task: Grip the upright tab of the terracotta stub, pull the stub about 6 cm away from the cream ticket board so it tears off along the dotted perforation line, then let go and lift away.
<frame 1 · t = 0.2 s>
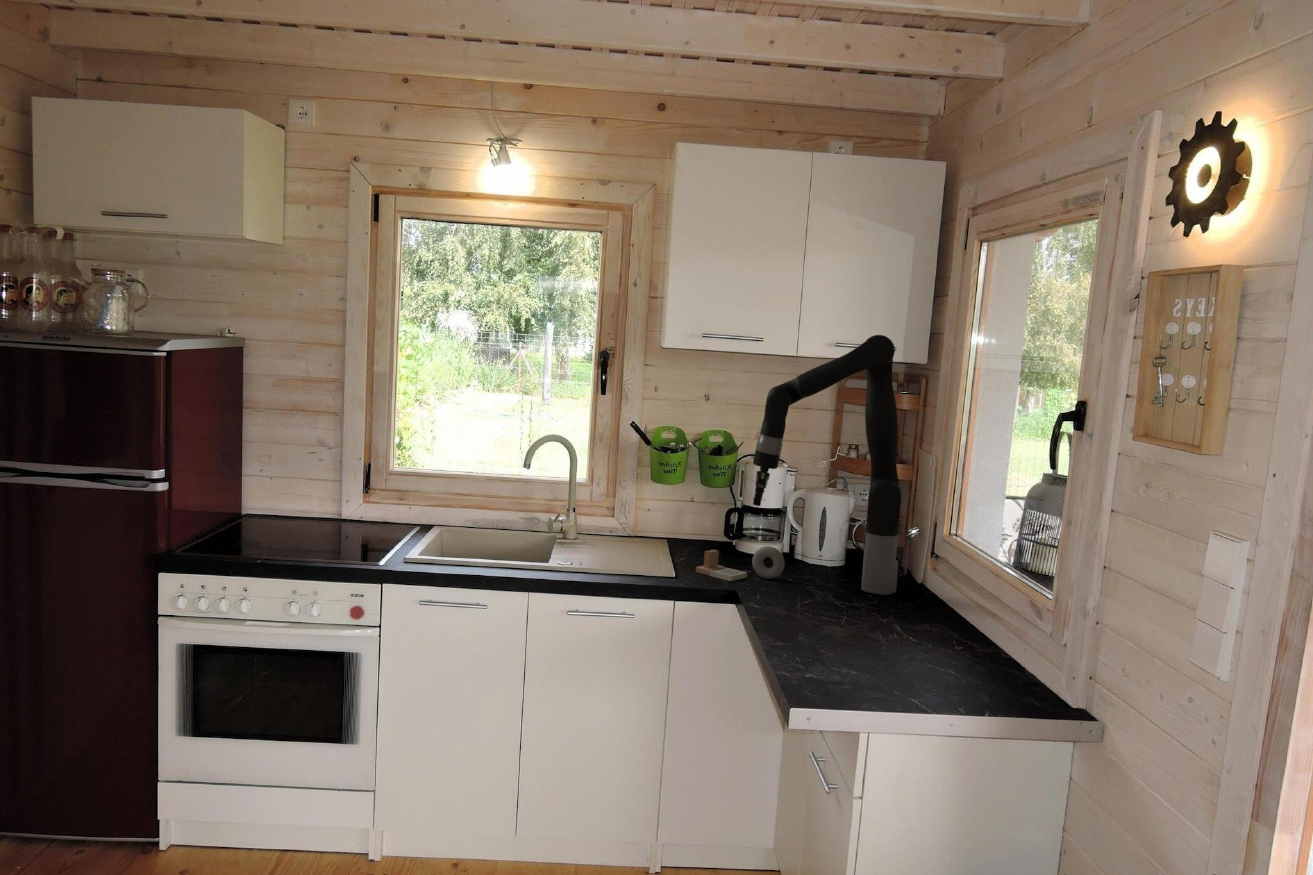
hand: (756, 503, 280), 23 cm above the worktop, tool pointing down, fingers open, 8 cm apart
donut: (767, 579, 281), on the worktop
ticket: (728, 576, 280), on the worktop
stub: (711, 561, 285), point 3 cm above the worktop, slide at 0.0 cm
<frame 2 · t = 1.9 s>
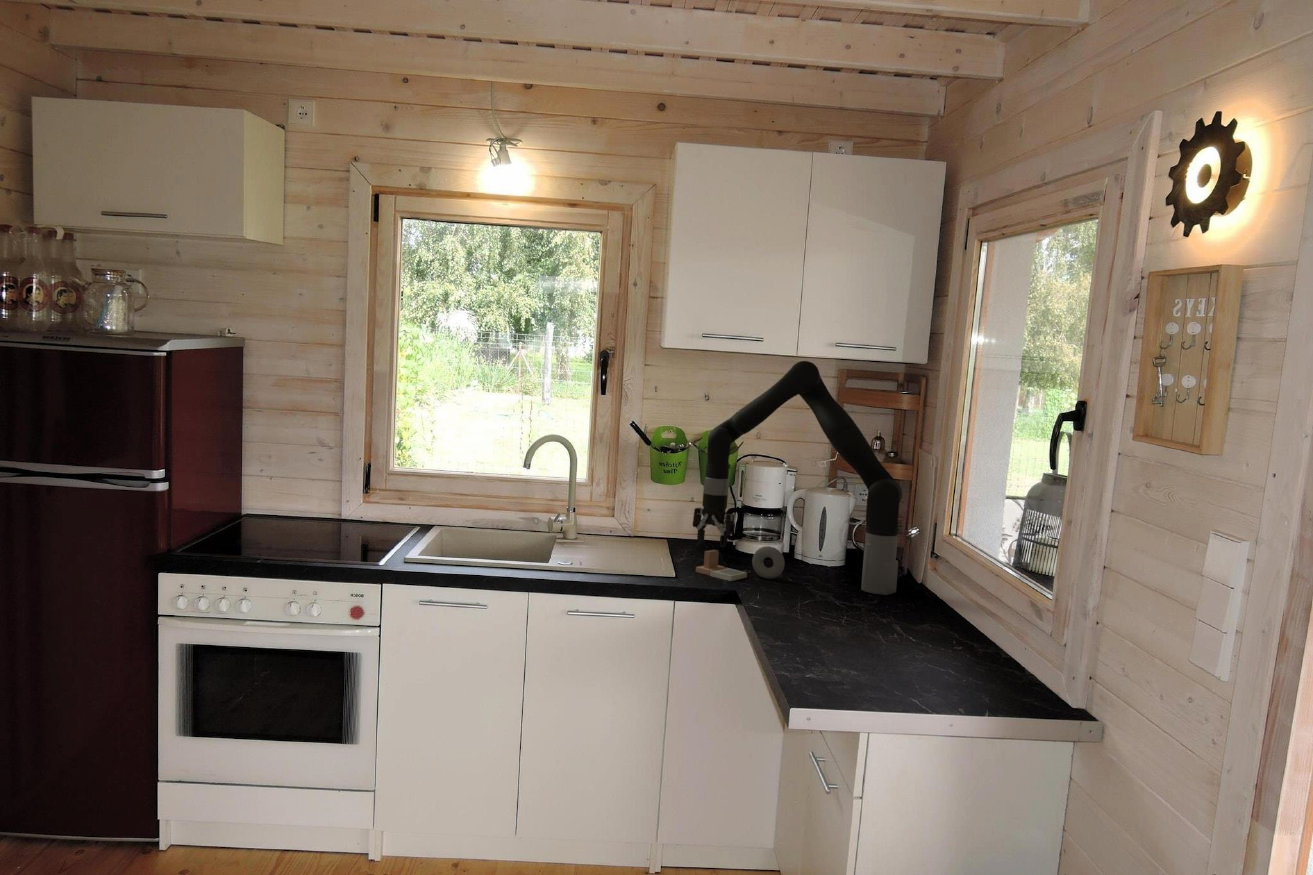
hand: (711, 544, 284), 9 cm above the worktop, tool pointing down, fingers open, 8 cm apart
nothing on the worktop moved.
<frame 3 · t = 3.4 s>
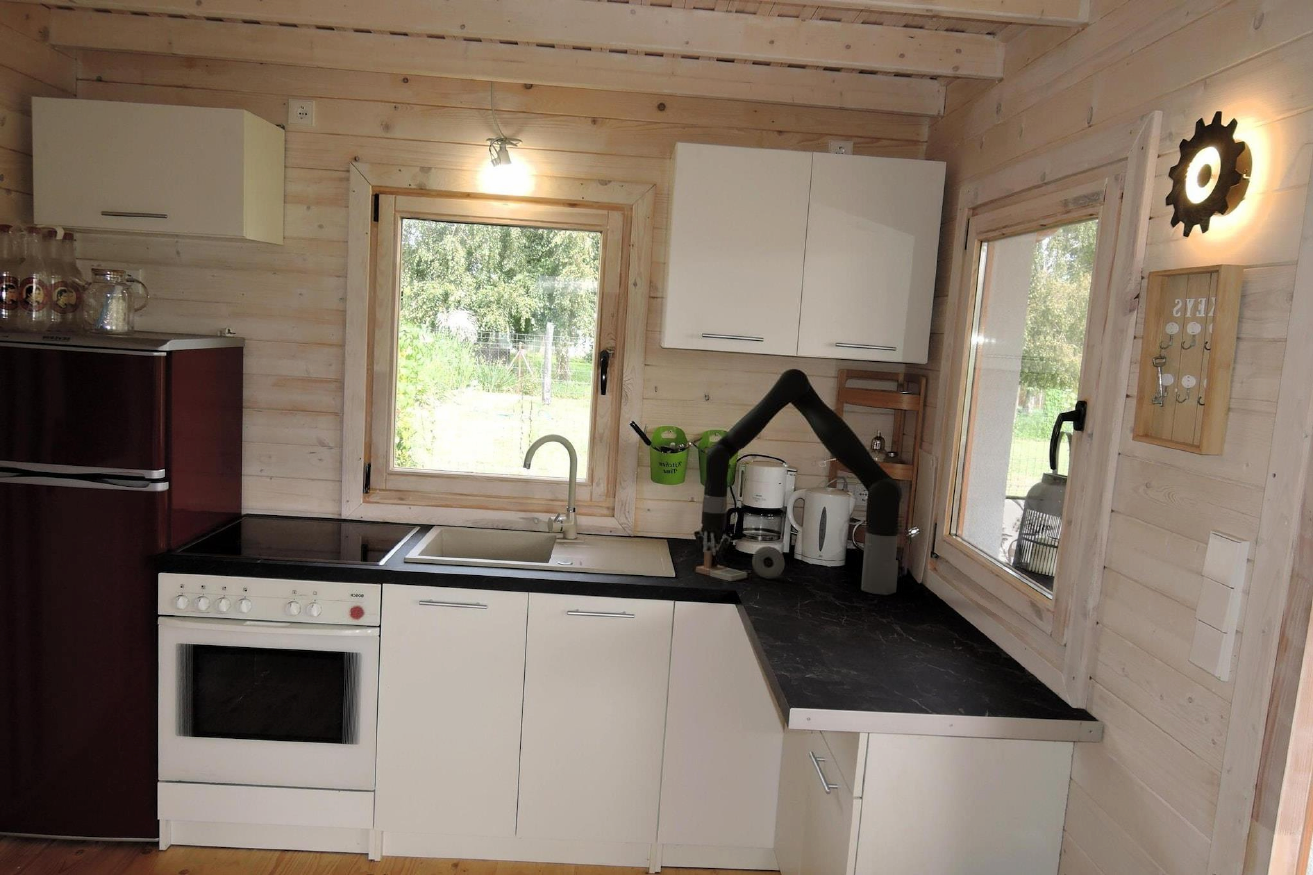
hand: (710, 565, 285), 2 cm above the worktop, tool pointing down, fingers closed, pressing on stub
stub: (711, 561, 285), point 3 cm above the worktop, slide at 0.0 cm, touching gripper
everything else where it was.
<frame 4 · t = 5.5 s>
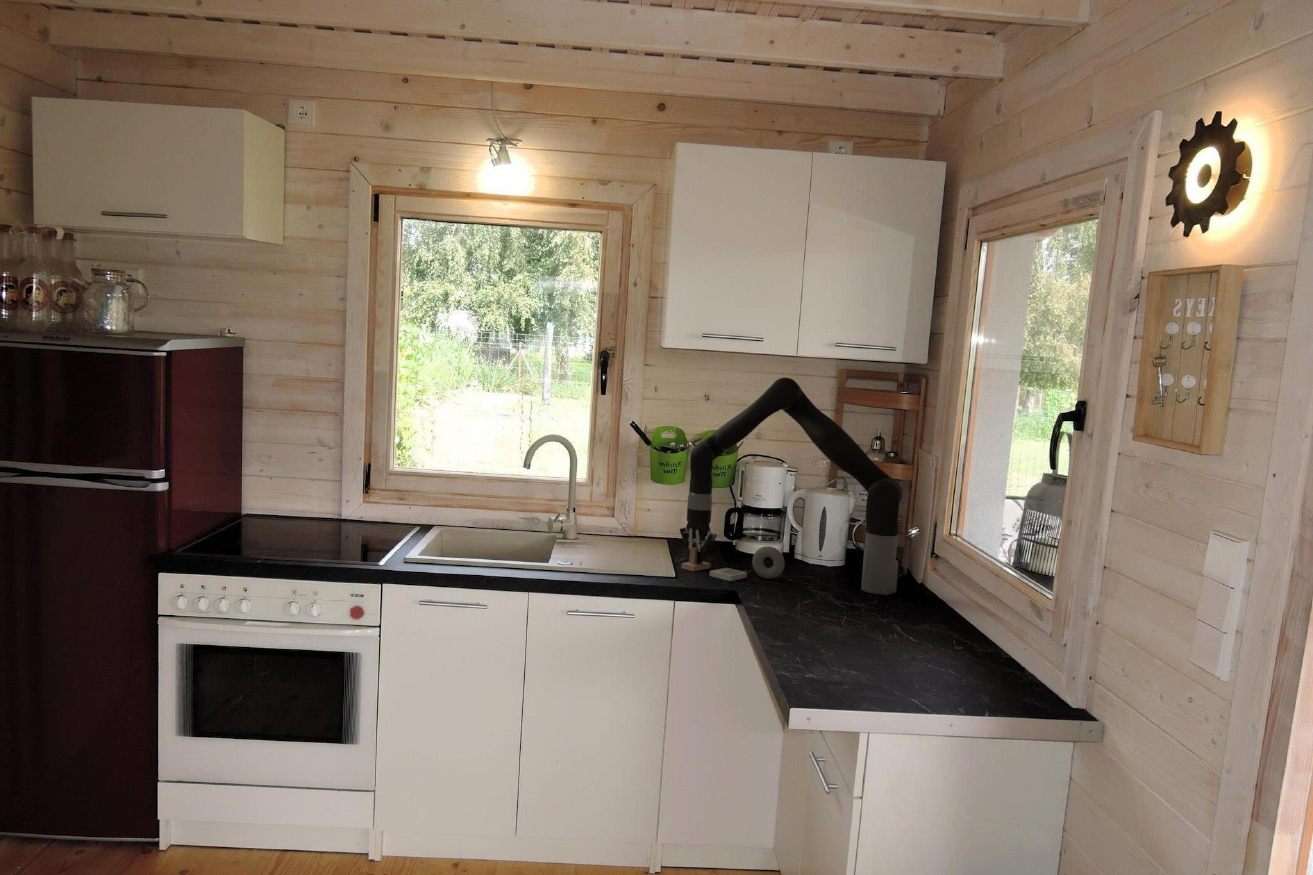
hand: (696, 561, 289), 2 cm above the worktop, tool pointing down, fingers closed on stub, 2 cm apart
stub: (696, 557, 289), point 3 cm above the worktop, slide at 5.8 cm, touching gripper
everything else where it was.
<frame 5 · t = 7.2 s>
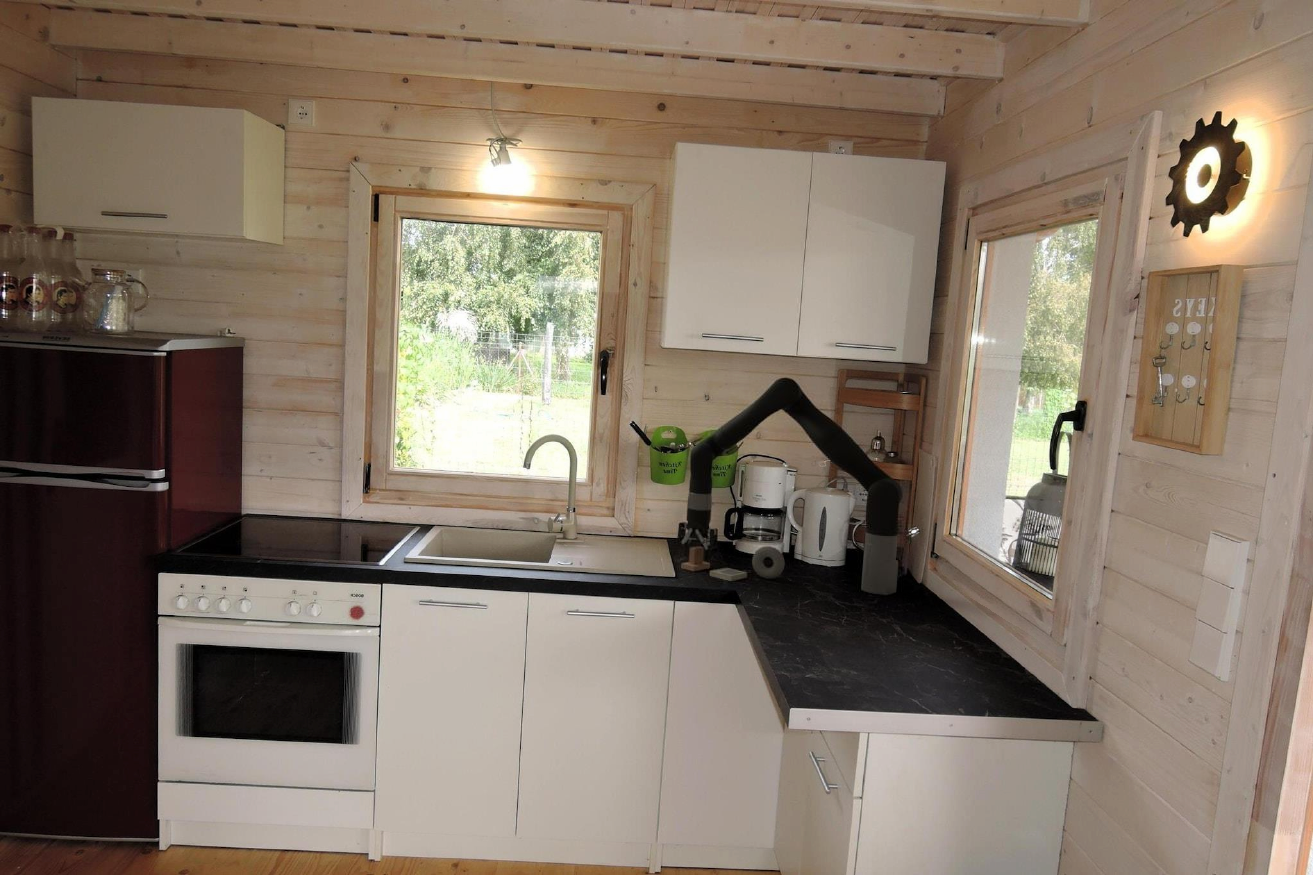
hand: (696, 558, 289), 3 cm above the worktop, tool pointing down, fingers open, 8 cm apart
stub: (696, 557, 289), point 3 cm above the worktop, slide at 5.9 cm
everything else where it was.
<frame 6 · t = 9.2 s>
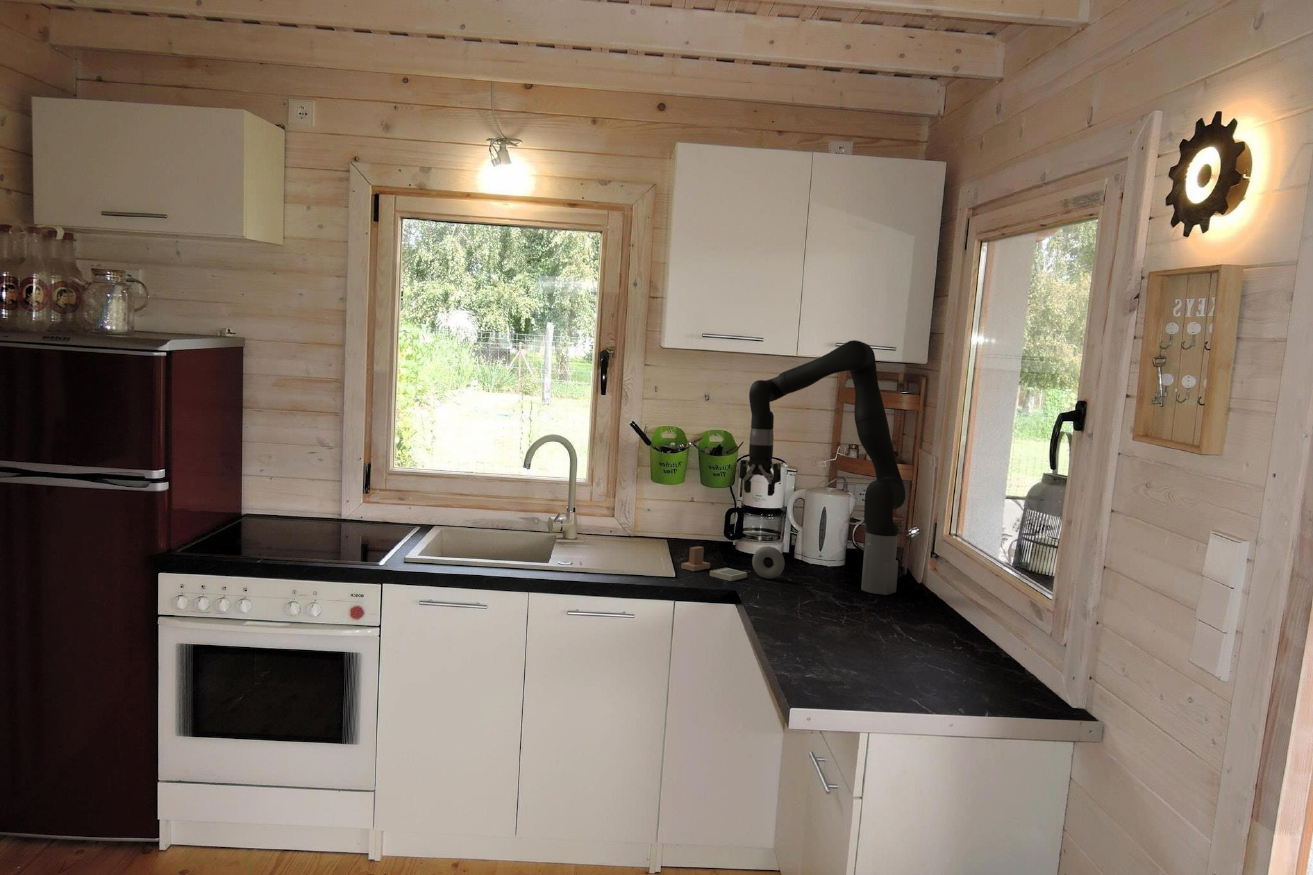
hand: (758, 494, 294), 24 cm above the worktop, tool pointing down, fingers open, 8 cm apart
nothing on the worktop moved.
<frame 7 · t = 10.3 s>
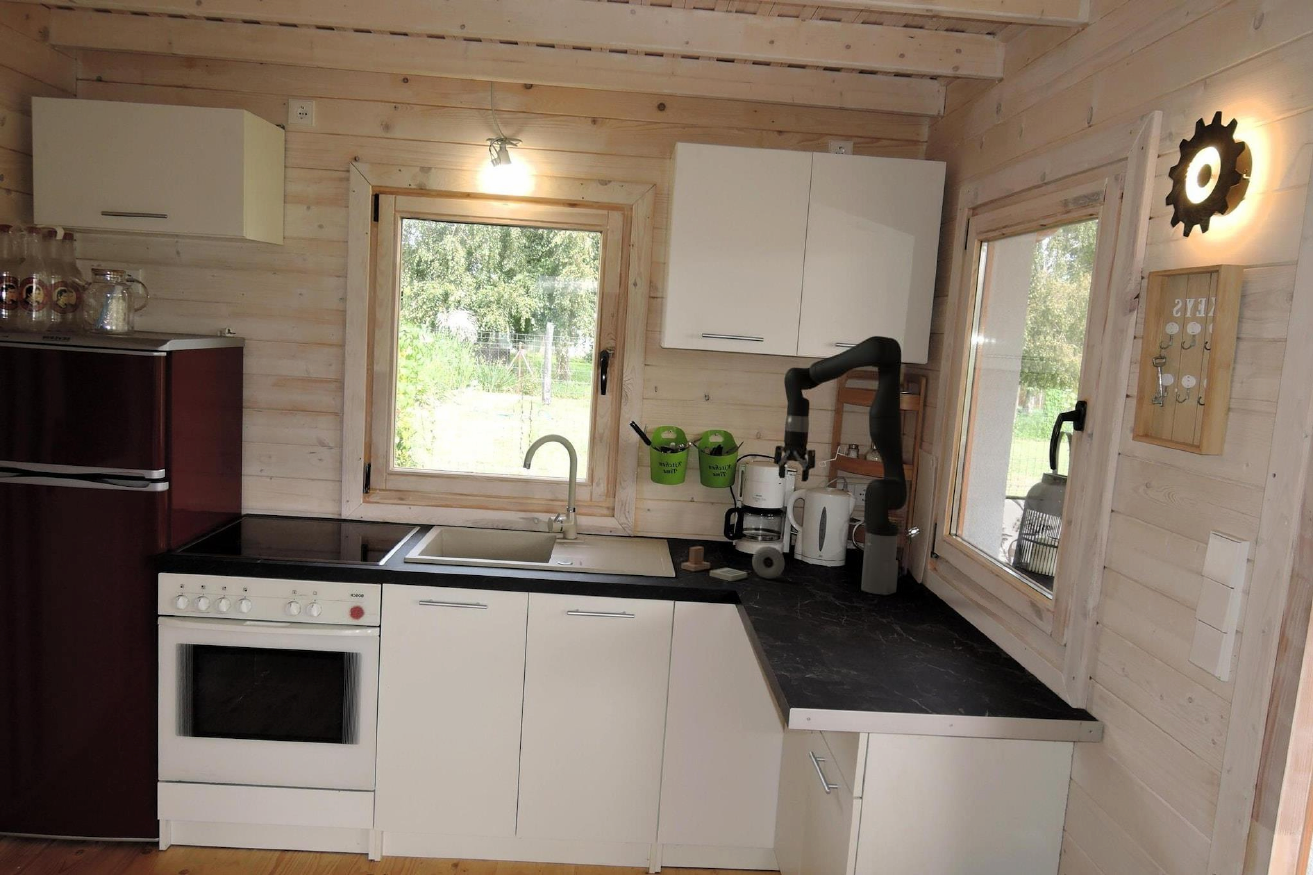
hand: (793, 479, 300), 28 cm above the worktop, tool pointing down, fingers open, 8 cm apart
nothing on the worktop moved.
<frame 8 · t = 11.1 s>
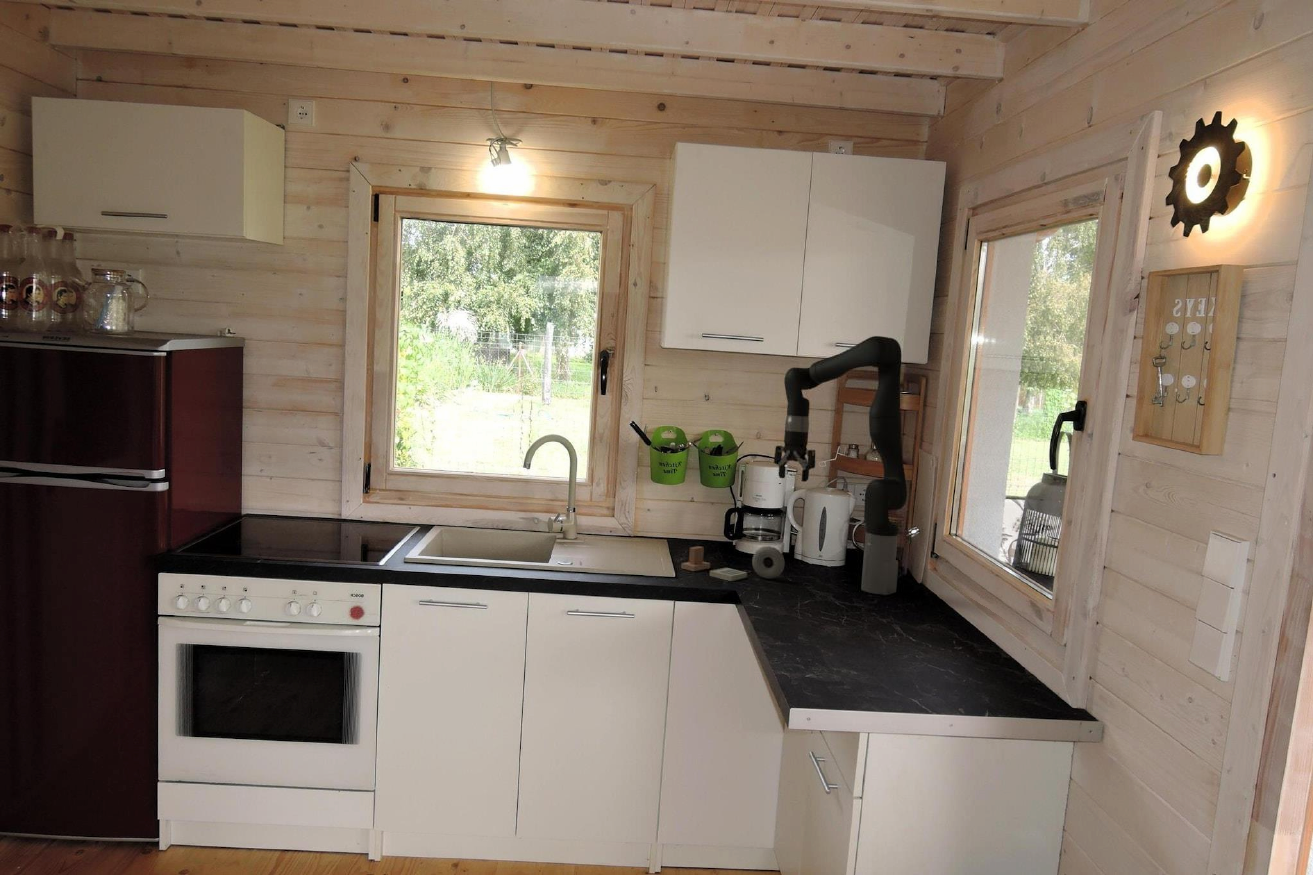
hand: (793, 479, 300), 28 cm above the worktop, tool pointing down, fingers open, 8 cm apart
nothing on the worktop moved.
at the end: stub slide at 5.9 cm; the gripper is holding nothing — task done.
